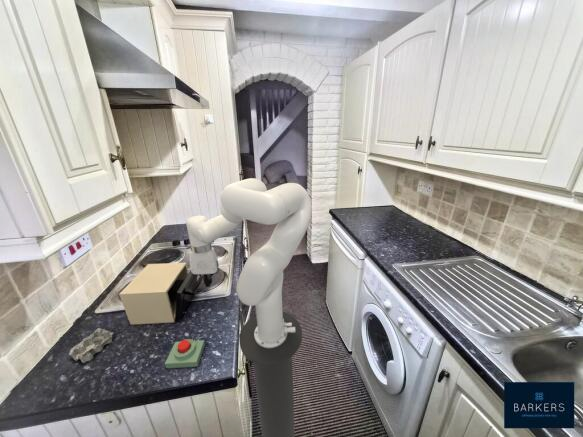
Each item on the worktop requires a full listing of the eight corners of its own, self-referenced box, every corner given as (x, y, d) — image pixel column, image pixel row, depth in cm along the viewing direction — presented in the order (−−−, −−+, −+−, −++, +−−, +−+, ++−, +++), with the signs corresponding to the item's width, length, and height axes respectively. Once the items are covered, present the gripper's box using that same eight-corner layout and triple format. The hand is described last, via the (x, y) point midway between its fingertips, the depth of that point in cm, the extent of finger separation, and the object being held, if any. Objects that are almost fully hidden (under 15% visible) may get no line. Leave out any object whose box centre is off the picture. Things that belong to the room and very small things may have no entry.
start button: (192, 343, 77) (191, 339, 77) (188, 353, 74) (187, 349, 73) (181, 343, 77) (180, 340, 77) (176, 353, 74) (175, 349, 73)
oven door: (205, 290, 110) (208, 265, 105) (190, 323, 91) (193, 294, 86) (192, 288, 109) (195, 262, 104) (174, 321, 90) (176, 292, 85)
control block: (205, 344, 81) (203, 336, 79) (197, 366, 74) (195, 357, 72) (176, 346, 81) (174, 337, 79) (166, 368, 73) (163, 359, 72)
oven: (192, 289, 109) (186, 262, 104) (174, 322, 91) (165, 291, 85) (156, 291, 109) (147, 264, 103) (130, 324, 90) (118, 294, 84)
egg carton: (85, 365, 75) (80, 356, 73) (69, 359, 77) (65, 350, 75) (117, 338, 84) (113, 330, 83) (102, 333, 86) (98, 325, 85)
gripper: (178, 252, 86) (187, 291, 93) (218, 250, 87) (224, 289, 94) (186, 242, 93) (194, 279, 100) (222, 241, 94) (228, 278, 101)
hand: (208, 284), depth 97 cm, fingers closed
